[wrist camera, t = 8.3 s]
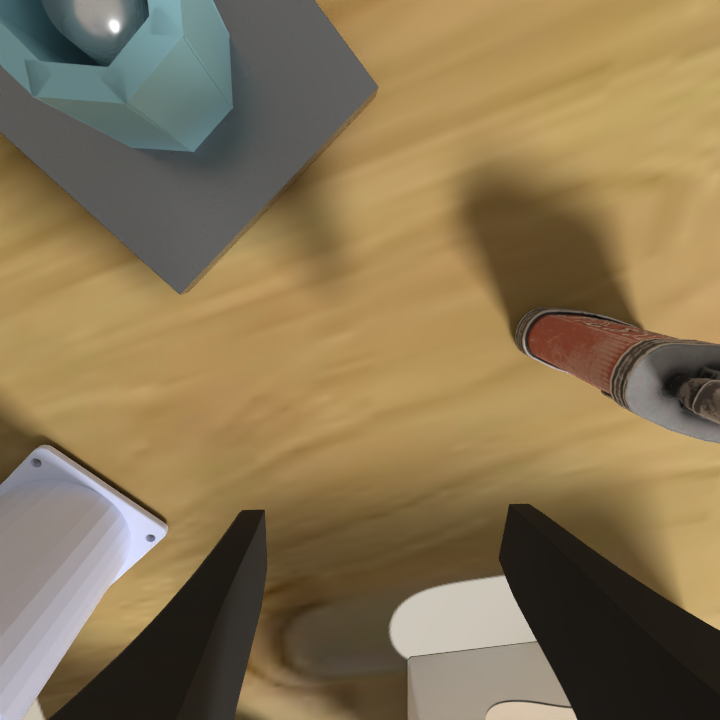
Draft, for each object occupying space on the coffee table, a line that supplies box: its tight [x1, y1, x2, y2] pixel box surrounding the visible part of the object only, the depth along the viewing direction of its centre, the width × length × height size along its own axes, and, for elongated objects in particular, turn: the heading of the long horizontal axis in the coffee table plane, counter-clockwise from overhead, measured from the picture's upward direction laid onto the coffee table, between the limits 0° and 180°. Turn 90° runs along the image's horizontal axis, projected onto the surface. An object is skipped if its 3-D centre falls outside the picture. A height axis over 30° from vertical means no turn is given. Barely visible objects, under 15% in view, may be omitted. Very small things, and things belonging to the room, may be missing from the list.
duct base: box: [0, 0, 378, 295], centre depth 12 cm, size 12×12×5 cm
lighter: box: [515, 307, 720, 443], centre depth 15 cm, size 8×3×10 cm, turn 76°
